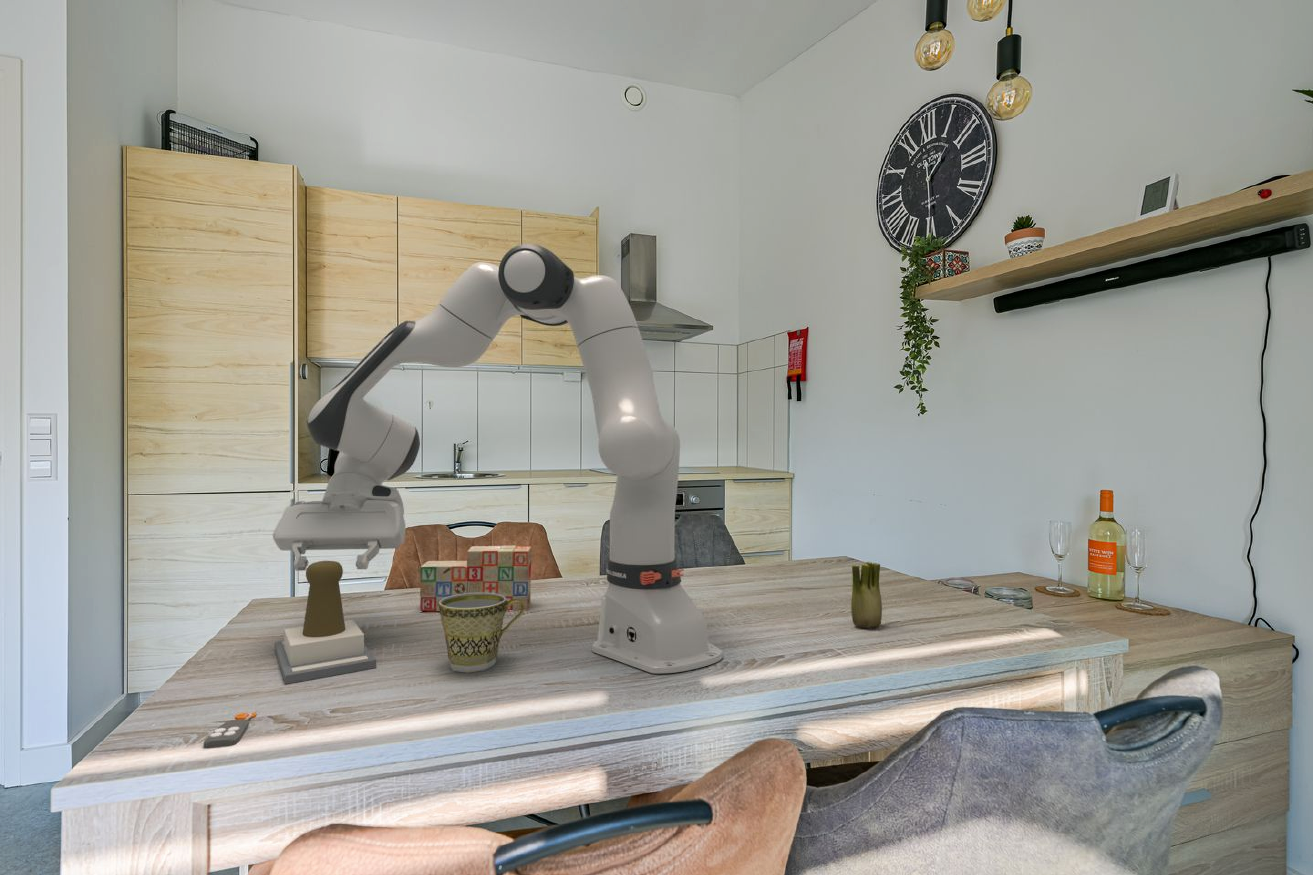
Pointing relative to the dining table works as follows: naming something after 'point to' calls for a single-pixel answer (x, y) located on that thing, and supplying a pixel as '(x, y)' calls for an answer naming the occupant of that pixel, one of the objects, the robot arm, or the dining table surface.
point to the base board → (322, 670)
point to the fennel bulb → (866, 596)
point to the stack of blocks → (479, 576)
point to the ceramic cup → (474, 628)
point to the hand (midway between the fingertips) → (330, 567)
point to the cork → (324, 600)
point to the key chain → (230, 731)
